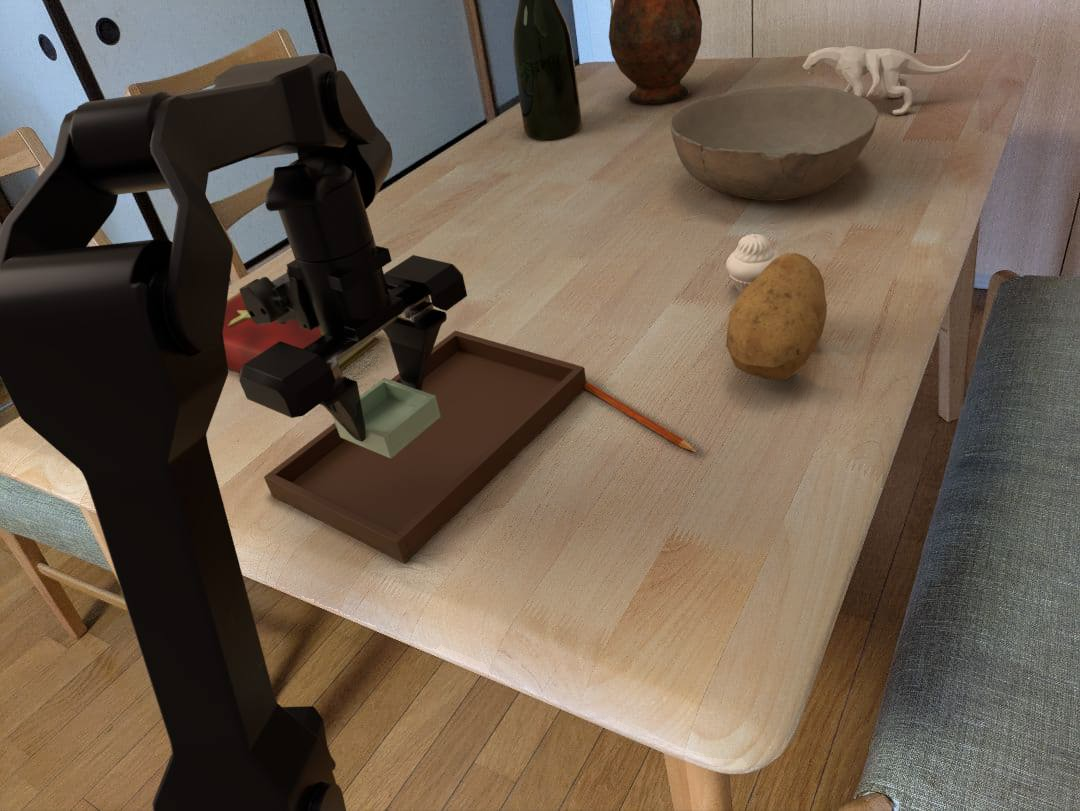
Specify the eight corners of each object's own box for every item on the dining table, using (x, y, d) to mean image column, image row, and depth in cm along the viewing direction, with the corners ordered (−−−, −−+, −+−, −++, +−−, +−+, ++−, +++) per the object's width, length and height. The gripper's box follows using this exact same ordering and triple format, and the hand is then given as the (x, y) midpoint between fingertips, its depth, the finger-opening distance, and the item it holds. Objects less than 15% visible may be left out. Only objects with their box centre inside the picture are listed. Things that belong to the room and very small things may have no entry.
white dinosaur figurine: (800, 99, 146) (802, 39, 140) (957, 89, 139) (967, 26, 133) (800, 123, 137) (802, 60, 131) (968, 114, 130) (979, 47, 124)
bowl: (652, 220, 116) (648, 149, 110) (694, 145, 136) (692, 82, 130) (865, 225, 106) (872, 148, 100) (876, 144, 126) (883, 75, 120)
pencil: (575, 377, 88) (574, 372, 88) (699, 452, 76) (699, 447, 75) (569, 381, 88) (568, 375, 87) (693, 457, 75) (693, 451, 75)
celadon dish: (391, 459, 66) (384, 437, 64) (339, 437, 69) (332, 416, 68) (441, 416, 69) (435, 395, 68) (390, 398, 73) (384, 377, 71)
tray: (404, 563, 70) (397, 542, 68) (271, 496, 79) (263, 476, 78) (587, 387, 86) (584, 367, 85) (459, 348, 96) (455, 330, 94)
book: (307, 397, 92) (295, 365, 90) (188, 359, 103) (175, 330, 100) (379, 340, 100) (369, 310, 97) (261, 311, 110) (250, 282, 108)
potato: (706, 394, 82) (703, 312, 77) (760, 315, 92) (761, 238, 87) (793, 413, 78) (797, 328, 73) (840, 328, 88) (847, 248, 83)
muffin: (719, 283, 99) (718, 229, 95) (768, 273, 100) (770, 218, 95) (737, 308, 94) (737, 252, 90) (789, 297, 95) (792, 241, 90)
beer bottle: (565, 142, 145) (538, -73, 126) (514, 140, 150) (480, -68, 131) (592, 121, 152) (570, -86, 133) (542, 119, 157) (514, -81, 138)
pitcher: (624, 85, 167) (611, -87, 149) (733, 79, 160) (732, -101, 143) (603, 113, 155) (586, -70, 137) (720, 109, 148) (718, -85, 130)
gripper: (351, 180, 69) (396, 339, 79) (157, 283, 58) (237, 454, 67) (451, 197, 63) (487, 367, 72) (255, 316, 52) (328, 499, 61)
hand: (387, 417), depth 69 cm, fingers closed on celadon dish, 6 cm apart
